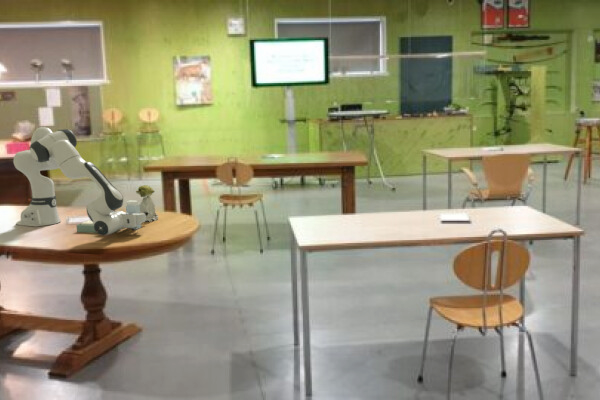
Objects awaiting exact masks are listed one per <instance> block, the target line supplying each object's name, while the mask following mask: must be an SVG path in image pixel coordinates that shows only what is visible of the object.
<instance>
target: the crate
mask: <svg viewBox="0 0 600 400" xmlns="http://www.w3.org/2000/svg"><path fill="white" fill-rule="evenodd" d="M76 232H77V233H90V234H91V233H92V234H93V233H94V234H95V233H97V232H96V231H95V230H94V226H93V225H81V223H78V224H76ZM97 234H98V233H97Z"/></svg>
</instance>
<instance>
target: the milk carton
mask: <svg viewBox="0 0 600 400" xmlns="http://www.w3.org/2000/svg"><path fill="white" fill-rule="evenodd" d="M140 204H141V203H139V200H130V199H129V200H127V201H126V205H125V212H126V213H140ZM141 228H142V223H141V224H139V225H136V227H133V228H132V231H133V230H134V231H135V230H139V229H141Z"/></svg>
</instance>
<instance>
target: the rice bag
mask: <svg viewBox="0 0 600 400" xmlns="http://www.w3.org/2000/svg"><path fill="white" fill-rule="evenodd" d="M80 224H81V225H94V223H93V222H92V221H91V220H89V219H88V220H86V221H83V222H81V223H80Z"/></svg>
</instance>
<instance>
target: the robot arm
mask: <svg viewBox="0 0 600 400" xmlns="http://www.w3.org/2000/svg"><path fill="white" fill-rule="evenodd" d="M77 144H78V141H77V137H76V135H75V134H74V132H73V131H72V130H70V129H68V128H65V129H58V130H57V131H54V132H53V131H52V129H50V128H49V127H47V126H40V127H38V128H36V130H34V132H33V134H32V137H31V139H30V146H29V149H26V150H22V151H21V150H20V151H17V152H16V153H15V154H14V156H13V162H12V163H13V165H14V167H15V169H16V170H17V171H19V172H21V173H22V174H23V175H24V176H26V178H27V179H28V181H29V183H30V187H31V195H32V197H31V198H28V202H30V203H29V205H28V206H27V207H25V209H23V210H22V211H21V212H20V220H18V221H17V222H15V225H19V226H26V227H42V226H50V225H56V224H60V222H61V218H60V215H59V212H58V207H57V195H56V193H55V182H54V181H53V179H52V178H50V177H48V176H44V175H42V174H41V171H50V170H51V171H52V170H57V169H60V171H61V172H62V174H63V175H64V176H65V177H66V178H68V179H71V180H72V179H73V180H75V179H76V180H77V179H82V178H90V179H91V180H92V181H93V182H94V183H95V184H96V185H97V187H98V188H99V189H100V190H101V192H102V193H101V194H100V195H98V196H97V197H95V198H94V199H93V200H91V201H90V202H89V203H87V205H86V215H87V216H88V218H89V219H90V220H91V221H92V222H93V223H94V225H93V226H94V230H95V231H96V232H97V234H98V235H100V236H108V235H111V234H115V233H116V232H118V231H121V230H124V229H134V228H133V227H136V225H139V224H141V225H142V223H145V222H147V221H146V215H145V214H144V213H126V211H122V210H118V209H120V208H122V206H123V204H124V196H123V194H122V193H121V191H120V190H119V189H117V188H116V187H115V186H114V185H113V184H112V182H111V181H109V179H108V178H107V177H106V176H105V175H104V174H103V173H102V171H101V170H100V169H99V168H98V167H97V166H96V165H95V164H94V163H93V162H90V161H86V160H84V158H83V157H82V156H81V154H80V153H79V151H78V150H77V148H76V147H77ZM113 211H115V212H113Z"/></svg>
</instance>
